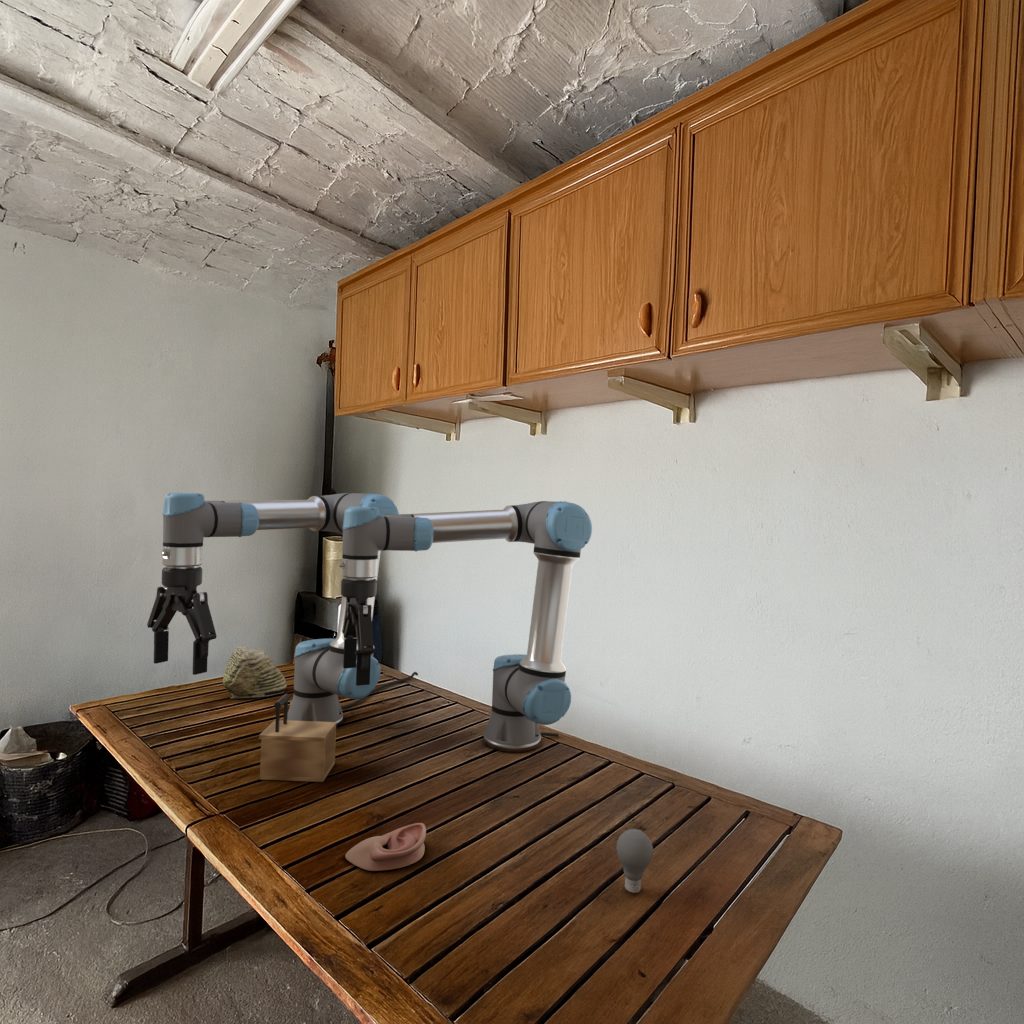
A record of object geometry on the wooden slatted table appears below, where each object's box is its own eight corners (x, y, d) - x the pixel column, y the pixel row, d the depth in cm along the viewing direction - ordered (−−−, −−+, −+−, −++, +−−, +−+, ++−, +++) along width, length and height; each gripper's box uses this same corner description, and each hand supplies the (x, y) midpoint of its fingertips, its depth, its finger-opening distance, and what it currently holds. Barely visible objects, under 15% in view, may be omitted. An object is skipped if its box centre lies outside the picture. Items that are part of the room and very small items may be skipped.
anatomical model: (337, 842, 109) (366, 811, 120) (336, 865, 109) (365, 832, 120) (410, 854, 106) (432, 821, 117) (409, 878, 106) (432, 842, 118)
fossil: (218, 695, 195) (220, 647, 195) (278, 685, 208) (279, 640, 207) (228, 703, 189) (230, 653, 188) (289, 692, 201) (290, 645, 201)
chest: (259, 779, 140) (261, 739, 140) (275, 761, 150) (277, 723, 150) (323, 782, 141) (324, 741, 140) (334, 763, 150) (336, 726, 150)
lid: (258, 739, 140) (260, 704, 140) (274, 723, 150) (276, 690, 150) (324, 741, 140) (325, 706, 140) (336, 725, 150) (337, 693, 150)
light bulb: (610, 879, 108) (613, 822, 108) (644, 879, 109) (647, 822, 109) (619, 902, 102) (622, 840, 102) (655, 901, 103) (658, 840, 103)
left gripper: (130, 562, 135) (128, 661, 136) (202, 573, 123) (199, 682, 123) (164, 560, 142) (162, 654, 142) (236, 570, 129) (233, 673, 130)
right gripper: (331, 571, 146) (328, 662, 147) (353, 586, 124) (349, 694, 124) (363, 570, 149) (360, 660, 150) (391, 585, 127) (387, 690, 127)
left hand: (179, 667), depth 133 cm, fingers open, 13 cm apart
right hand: (355, 676), depth 137 cm, fingers open, 13 cm apart
